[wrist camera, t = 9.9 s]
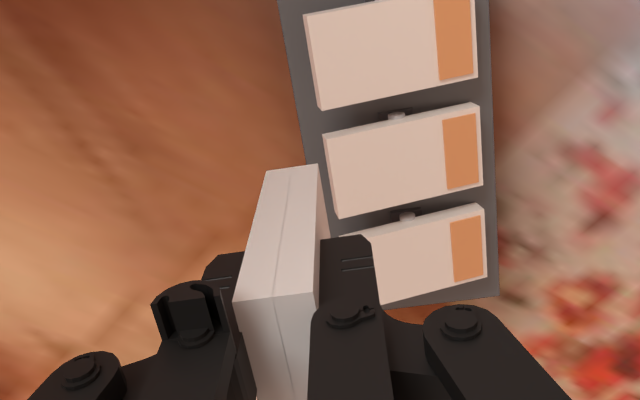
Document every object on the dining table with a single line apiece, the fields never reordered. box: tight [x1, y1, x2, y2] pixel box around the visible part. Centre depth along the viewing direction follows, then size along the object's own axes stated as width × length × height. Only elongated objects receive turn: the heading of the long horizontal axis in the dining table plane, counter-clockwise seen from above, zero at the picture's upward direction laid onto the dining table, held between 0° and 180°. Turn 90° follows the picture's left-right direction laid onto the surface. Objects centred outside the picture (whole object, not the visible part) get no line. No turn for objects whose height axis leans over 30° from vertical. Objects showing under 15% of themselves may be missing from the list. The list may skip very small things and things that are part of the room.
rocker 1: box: [303, 0, 478, 111], centre depth 38 cm, size 11×6×2 cm, turn 99°
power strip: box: [277, 0, 500, 310], centre depth 44 cm, size 14×31×6 cm, turn 9°
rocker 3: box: [339, 202, 487, 305], centre depth 44 cm, size 11×6×2 cm, turn 99°
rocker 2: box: [322, 102, 483, 219], centre depth 41 cm, size 11×6×2 cm, turn 99°
